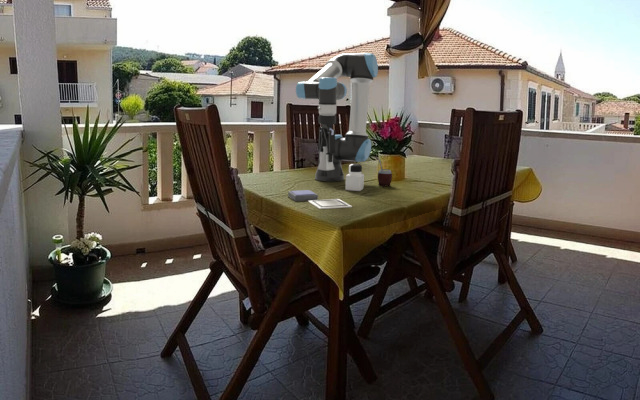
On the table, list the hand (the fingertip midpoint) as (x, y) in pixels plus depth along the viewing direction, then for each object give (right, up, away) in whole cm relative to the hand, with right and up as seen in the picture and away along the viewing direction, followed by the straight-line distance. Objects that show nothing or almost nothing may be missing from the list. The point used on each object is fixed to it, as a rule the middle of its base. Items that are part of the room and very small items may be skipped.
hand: (326, 167), depth 214 cm
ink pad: (-10, -13, -3) cm, 17 cm away
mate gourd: (+29, -7, +29) cm, 42 cm away
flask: (0, -1, 0) cm, 1 cm away
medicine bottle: (+14, -9, +19) cm, 25 cm away
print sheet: (+1, -16, -14) cm, 21 cm away
